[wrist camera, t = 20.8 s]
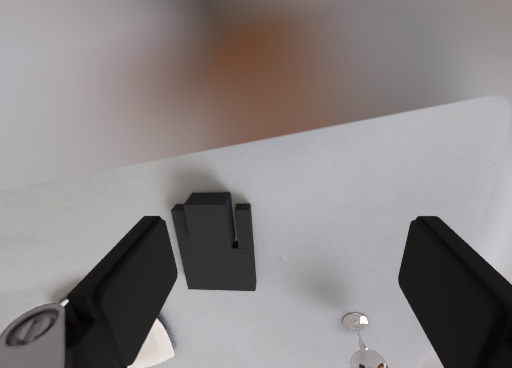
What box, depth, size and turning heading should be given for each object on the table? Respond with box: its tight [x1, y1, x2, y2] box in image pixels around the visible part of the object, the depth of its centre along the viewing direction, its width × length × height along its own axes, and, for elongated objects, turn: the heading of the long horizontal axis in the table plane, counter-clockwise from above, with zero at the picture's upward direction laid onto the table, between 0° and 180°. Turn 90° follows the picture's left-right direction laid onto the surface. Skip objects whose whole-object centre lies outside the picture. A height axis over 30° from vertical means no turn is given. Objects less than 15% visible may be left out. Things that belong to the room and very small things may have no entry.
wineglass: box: [343, 313, 389, 368], centre depth 41 cm, size 6×6×12 cm
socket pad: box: [171, 204, 256, 291], centre depth 41 cm, size 16×12×2 cm
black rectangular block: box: [183, 192, 235, 251], centre depth 38 cm, size 8×6×4 cm
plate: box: [60, 299, 175, 368], centre depth 52 cm, size 23×23×2 cm
